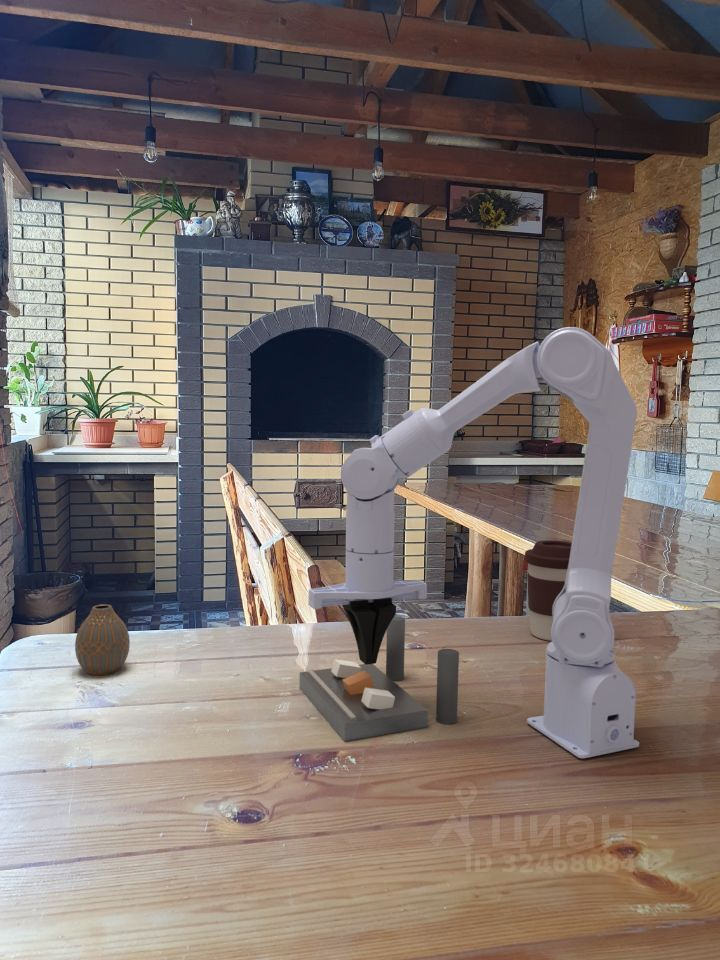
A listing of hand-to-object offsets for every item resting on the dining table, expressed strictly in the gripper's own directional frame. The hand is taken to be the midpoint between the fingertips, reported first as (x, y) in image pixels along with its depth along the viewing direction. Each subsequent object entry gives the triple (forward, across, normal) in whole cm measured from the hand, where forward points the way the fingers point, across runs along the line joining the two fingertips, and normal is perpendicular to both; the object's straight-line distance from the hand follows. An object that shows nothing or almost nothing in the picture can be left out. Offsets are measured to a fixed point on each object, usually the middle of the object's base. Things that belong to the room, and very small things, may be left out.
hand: (367, 661), depth 85 cm
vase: (+6, +29, -23) cm, 37 cm away
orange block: (+3, +1, 0) cm, 4 cm away
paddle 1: (+3, +1, -5) cm, 6 cm away
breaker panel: (+5, +1, 0) cm, 5 cm away
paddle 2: (+3, +1, +5) cm, 6 cm away
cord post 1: (+5, -7, -7) cm, 11 cm away
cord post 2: (+5, -7, +7) cm, 11 cm away
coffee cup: (+6, -39, -15) cm, 42 cm away
